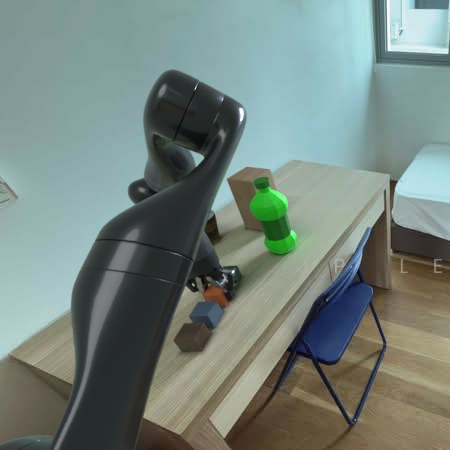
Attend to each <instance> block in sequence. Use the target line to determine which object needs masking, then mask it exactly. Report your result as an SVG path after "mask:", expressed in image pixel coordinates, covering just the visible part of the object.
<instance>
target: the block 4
mask: <svg viewBox="0 0 450 450" xmlns="http://www.w3.org/2000/svg"><path fill="white" fill-rule="evenodd" d="M221 266H222V267H224V269H227V270H231V268H235V269H236V273H237V284H236V286H235V288H234V290H235V289H237V288H238V287H239V285H240V283H241V281H242V279H243V274H242V272H241V271H240V268H239V265H221ZM227 280H228V279H227ZM219 281H220V280H219Z"/></svg>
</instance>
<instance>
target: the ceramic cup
mask: <svg viewBox="0 0 450 450" xmlns="http://www.w3.org/2000/svg"><path fill="white" fill-rule="evenodd" d="M204 232H205V233H206V235H207V236H208V238H209V240H210V242H211V244H212V246H214V245H215V244H216V243H219V240H220V239H221V238H220V237H221V235H220V231H219V227H218V219H217V217H216V213H215V211H214V210H213V209H211V211H210V214H209V217H208V220H207V223H206V227H205V230H204Z"/></svg>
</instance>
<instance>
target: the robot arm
mask: <svg viewBox="0 0 450 450" xmlns="http://www.w3.org/2000/svg"><path fill="white" fill-rule="evenodd" d="M247 114H248V113H247V110H246V107H245V106H244V105H243V104H242V103H240V102H239V101H238V100H237V99H234V98H233V97H231V96H229V95H228V94H226V93H223V92H222V91H221V90H219V89H216V88H215V87H213V86H212V85H209V84H207V83H205V82H203V81H201V80H200V79H198V78H196V77H194V76H193V75H190V74H188V73H186V72H183V71H181V70H178V69H167V70H165V71H164V72H162V73H161V74H160V75H159V76H158V77H157V79H156V80H155V82H154V83H153V85H152V87H151V89H150V91H149V93H148V95H147V98H146V101H145V104H144V108H143V113H142V125H143V134H144V141H145V145H146V146H145V147H146V151H147V158H146V159H147V160H146V162H145V167H144V170H143V177H142V178H139V179H136V180H134V181H132V182H131V183H129V185H128V187H127V195H128V199H129V200H130V201H131V203H133V205H132V206H130V207H128V208H126V209H125V210H123V211H121V212H119V213H118V214H116V215H115V216H114V217H112V218H111V219H110V220H109V221H107V223H105V224H104V225H103V226H102V227H101V229H100V230H99V231H98V234H97V236H96V238H95V240H94V242H93V243H92V245H91V247H90V249H89V251H88V253H87V255H86V257H85V259H84V261H83V263H82V265H81V267H80V269H79V271H78V274H77V275H76V278H75V281H74V283H73V286H72V289H71V290H72V292H71V296H70V297H71V298H70V320H71V321H70V323H71V330H72V331H71V332H72V340H73V347H74V373H73V375H74V376H73V381H72V387H71V391H70V394H69V397H68V401H67V404H66V407H65V409H64V411H63V413H62V416H61V419H60V421H59V424H58V425H57V428H56V431H55V433H54V435H50V434H32V435H26V436H22V437H21V436H20V437H18V438H14V439H11V440H8V441H5V442H3V443H0V450H137V449H136V448H137V444H138V441H139V436H140V433H141V428H142V424H143V420H144V415H145V412H146V408H147V404H148V400H149V396H150V392H151V389H152V386H153V381H154V378H155V375H156V370H157V369H158V366H159V361H160V359H161V356H162V353H163V349H164V346H165V343H166V341H167V337H168V334H169V331H170V328H171V325H172V323H173V320H174V317H175V314H176V311H177V309H178V307H179V303H180V301H181V299H182V296H183V294H184V291H185V289H186V288H187V289H188V290H190V292H192V293H197V292H198V293H199V294H201V295H202V296H203V295H204V293H205V291H206V290H207V288H208V287H209V285H210V284H213V285H214V286H215V287H216V288H220V289H221V290H222V291H223V292H224V295H225V297H226V299H227V300H228V302H229V303H231V302H232V301H233V300H234V298H235V296H236V293H235V292H234V290H235V289H234V288H235V286H236V284H237V273H236V269H235V268H231V270H227V269H224V267H222V266H223V265H222V264H221V263H220V258H219V255H218V253H217V251H216V249H215V248H214V245H212V244H211V242H210V240H209V238H208V236H207V235H206V233H205V232H204V230H205V227H206V223H207V220H208V217H209V214H210V211H211V210H212V208H213V206H214V203H215V200H216V198H217V195H218V194H219V193H218V192H219V190H220V188H221V186H222V184H223V181H224V179H225V177H226V174H227V171H228V170H229V168H230V165H231V163H232V161H233V158H234V156H235V154H236V152H237V149H238V147H239V145H240V142H241V140H242V138H243V135H244V132H245V129H246V125H247V119H248V116H247ZM192 152H193V153H196V154H199V155H201V156H202V157H203V159H202V160H201V161H200V162H199V163H198V164H197V163H196V160H195V157H194V155H193V153H192ZM196 165H197V166H196ZM227 279H228V280H227ZM219 280H220V281H219ZM224 284H225V285H226V286H224Z"/></svg>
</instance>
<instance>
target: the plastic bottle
mask: <svg viewBox="0 0 450 450" xmlns="http://www.w3.org/2000/svg"><path fill="white" fill-rule="evenodd" d="M253 184H254V186H255V188H256V189H258V193H257V194H256V195H255V196H254V198H253V199H252V201H251V203H250V210H251V212H252V214H253V215H254V216H255V217H256V218H257V219H258V220H259V221H260V224H261V226H262V229H263V231H262V232H263V234H264V240H263V244H264V247H266V248H267V250H268V251H269V252H271V253H272V254H277V255H285V254H288V253H289V252H290V251H292V249H293V248H294V247H295V246H296V243H297V238H298V237H297V233H296V232H295V231H294V230H293V229H292V227H291V224H290V220H289V217H288V213H287V212H288V209H289V201H288V198H287V197H286V196H285V195H284V194H283V193H282V192H280V191H278V190H277V191H275V190H273V189H270V187H269V186H270V185H271V183H270V180H269V178H268V177H259V178H257V179H255V180H254V181H253Z"/></svg>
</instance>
